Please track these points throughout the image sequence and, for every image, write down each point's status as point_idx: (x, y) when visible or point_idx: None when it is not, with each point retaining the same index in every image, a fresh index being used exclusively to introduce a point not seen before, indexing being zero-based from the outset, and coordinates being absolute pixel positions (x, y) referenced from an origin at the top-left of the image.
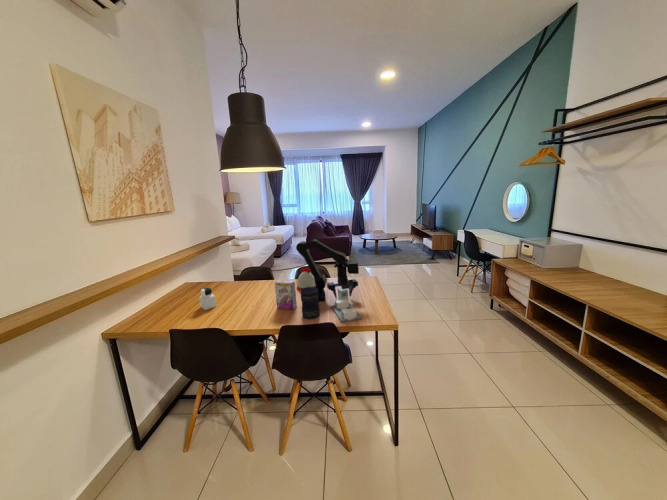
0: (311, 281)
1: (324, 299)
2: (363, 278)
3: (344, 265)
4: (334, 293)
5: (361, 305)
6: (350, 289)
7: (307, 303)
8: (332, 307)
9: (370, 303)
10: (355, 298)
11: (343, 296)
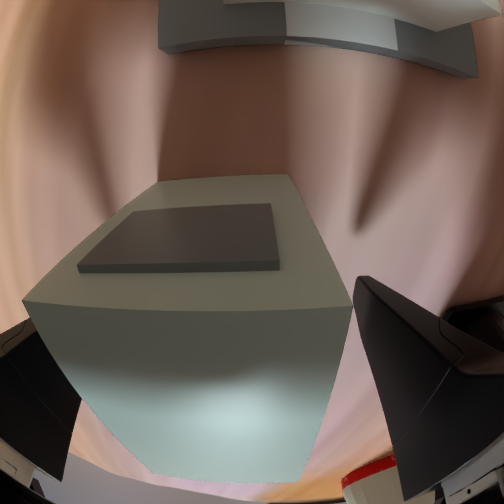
0: (392, 496)
1: (451, 321)
2: (80, 456)
3: None
4: (456, 330)
5: (38, 23)
6: (27, 371)
7: None
8: (467, 38)
9: None
10: (60, 253)
11: (234, 205)
